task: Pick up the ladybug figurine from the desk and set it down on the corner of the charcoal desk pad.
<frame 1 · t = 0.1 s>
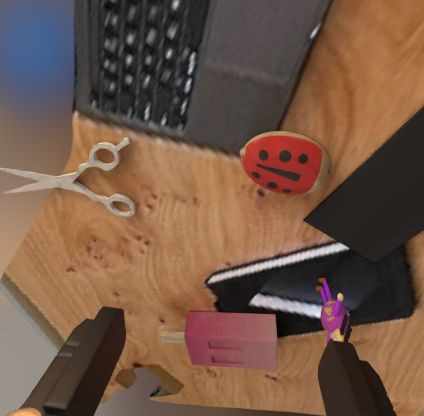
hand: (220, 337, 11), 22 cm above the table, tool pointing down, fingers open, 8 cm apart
desk pad: (409, 185, 30), on the table
ladybug figurine: (284, 159, 30), on the table
scissors: (65, 178, 34), on the table
wizard figurine: (324, 281, 40), on the table
popsicle: (218, 325, 49), on the table
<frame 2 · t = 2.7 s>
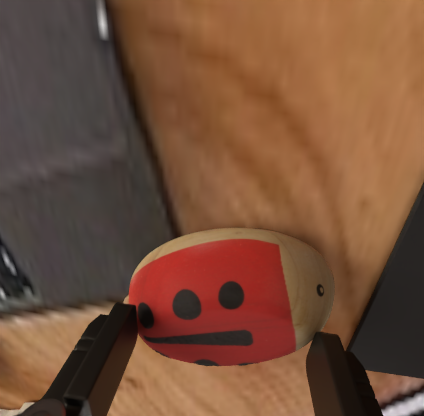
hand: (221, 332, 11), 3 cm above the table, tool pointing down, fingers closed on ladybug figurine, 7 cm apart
ladybug figurine: (227, 275, 14), on the table, touching gripper
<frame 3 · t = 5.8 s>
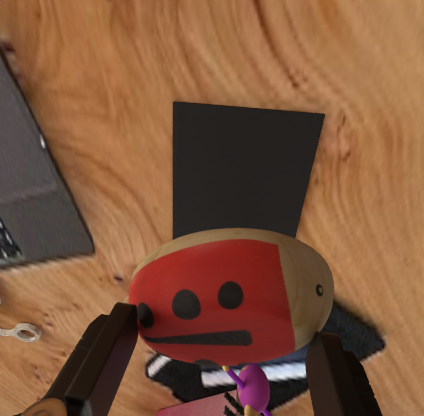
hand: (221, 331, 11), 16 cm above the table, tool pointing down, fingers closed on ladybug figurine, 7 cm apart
desk pad: (234, 216, 26), on the table
ladybug figurine: (227, 275, 14), point 12 cm above the table, touching gripper
wizard figurine: (252, 338, 34), on the table
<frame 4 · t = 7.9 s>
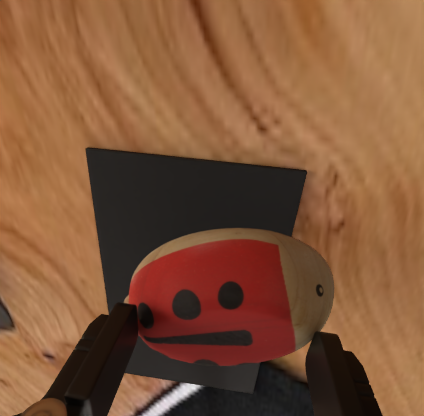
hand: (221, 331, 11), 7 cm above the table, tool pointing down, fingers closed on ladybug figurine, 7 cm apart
desk pad: (188, 294, 19), on the table
ladybug figurine: (227, 275, 14), point 3 cm above the table, touching gripper
when the fingers open (3 cm above the table, at t = 9.4 s): ladybug figurine stays where it is, resting on desk pad.
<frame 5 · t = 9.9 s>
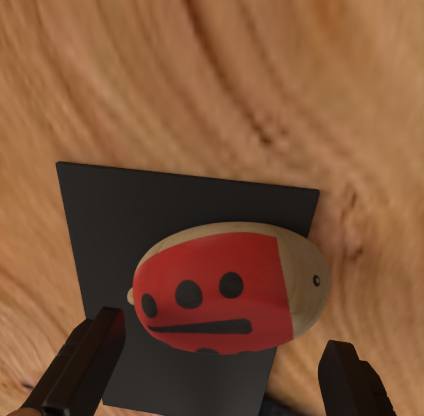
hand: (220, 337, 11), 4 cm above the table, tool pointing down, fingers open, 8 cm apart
desk pad: (180, 326, 17), on the table
ladybug figurine: (228, 268, 14), resting on desk pad
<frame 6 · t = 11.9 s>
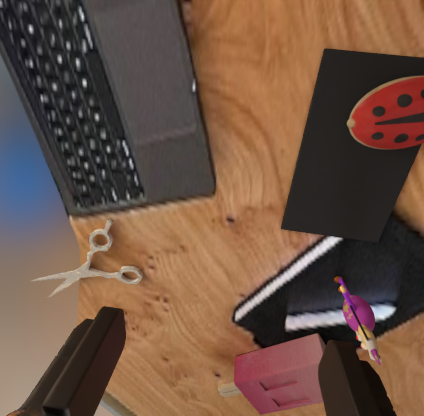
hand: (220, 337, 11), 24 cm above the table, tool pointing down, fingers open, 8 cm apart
desk pad: (354, 158, 30), on the table
ladybug figurine: (396, 113, 27), resting on desk pad
scissors: (83, 268, 42), on the table
wizard figurine: (342, 280, 38), on the table
popsicle: (271, 364, 47), on the table
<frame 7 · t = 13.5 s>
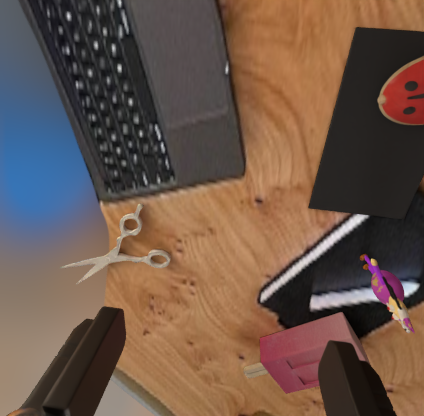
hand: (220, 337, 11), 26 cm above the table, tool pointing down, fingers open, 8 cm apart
desk pad: (382, 135, 31), on the table
scissors: (112, 253, 43), on the table
wizard figurine: (367, 258, 39), on the table
popsicle: (295, 344, 48), on the table
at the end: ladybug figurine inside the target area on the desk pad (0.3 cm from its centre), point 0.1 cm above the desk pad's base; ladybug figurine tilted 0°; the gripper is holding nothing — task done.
